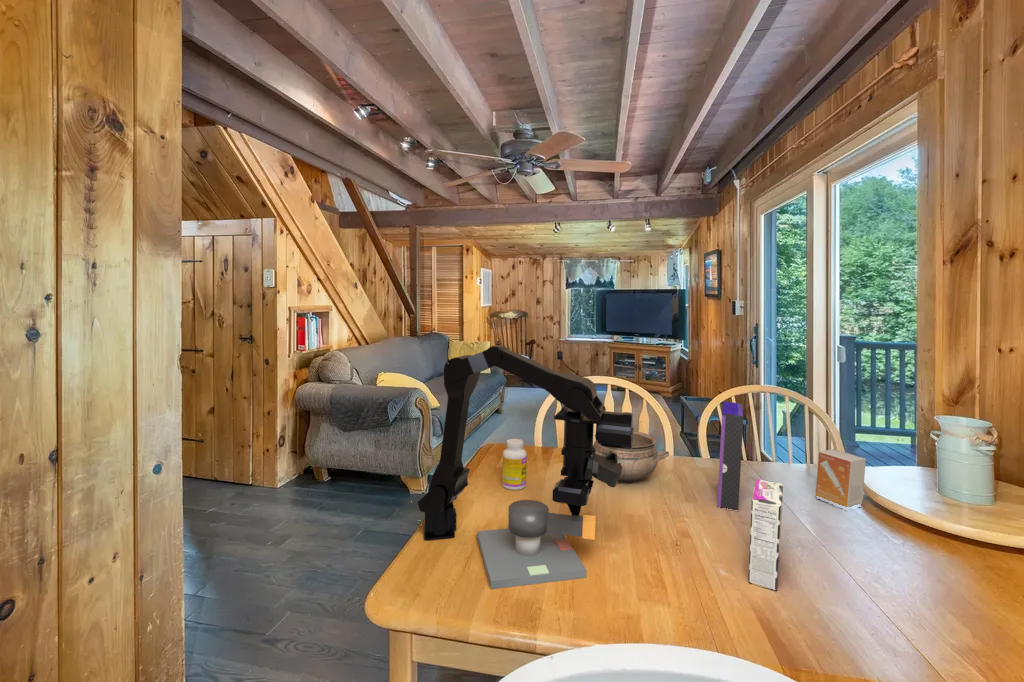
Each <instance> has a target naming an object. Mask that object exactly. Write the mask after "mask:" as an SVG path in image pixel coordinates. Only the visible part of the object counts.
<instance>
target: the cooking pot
mask: <svg viewBox="0 0 1024 682" xmlns="http://www.w3.org/2000/svg"><path fill="white" fill-rule="evenodd" d="M594 438H595V441H594V442H593V445H594V447H595V448H596V454H598V455H600V456H602V455H604V456H605V455H606V454H608V453H609V452H613V453H615V454H617V459H618V464H619V463H621V466H622V473H621V475H620V477H619V480H618V482H619V483H626V484H628V483H633V482H635V481H638V480H640V479H643V478H645V477H648V476H649V475H651V474H652V473H653V472H654V470H656V468H657V465H658V462H659V461H661V460H663V459H666V458H668V457H669V456H670V452H669V451H657V448H656V445H655V444H656V442H657V439H656V438H655V437H654V436H653V435H650V434H648V433H645V432H642V431H637V430H633V443H632V450H628V449H620V448H612V447H604V446H601V443H598V440H596V433H594Z"/></svg>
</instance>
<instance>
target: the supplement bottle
mask: <svg viewBox="0 0 1024 682" xmlns="http://www.w3.org/2000/svg"><path fill="white" fill-rule="evenodd" d="M506 447H507V448H505V449H504V450H503V451H502V487H503V488H505V489H506V490H510V491H518V490H523V489H524V488H525V487H526V486H527V457H528V456H527V451H526V450H525V449H524V440H522V439H520V438H510V439H507V440H506Z"/></svg>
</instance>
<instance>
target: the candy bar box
mask: <svg viewBox="0 0 1024 682" xmlns="http://www.w3.org/2000/svg"><path fill="white" fill-rule="evenodd" d="M783 492H784V484H783V483H781V482H776V481H771V480H765V479H761V478H758V479H757V478H756V479H755V484H754V488H753V492H752V497H751V512H750V534H749V535H750V536H749V555H748V556H749V557H748V578H747V579H748V580H747V583H749V582H751V583H755V584H758V585H760V586H764V587H767V588H770V589H773V590H772V591H774V590H777V591H778V586H779V585H778V584H779V573H780V571H779V570H780V558H781V555H780V553H781V538H782V537H781V536H782V517H783V516H782V515H783V499H784V498H783V496H784V493H783ZM760 586H759V587H760ZM767 588H766V589H767ZM770 589H769V590H770Z"/></svg>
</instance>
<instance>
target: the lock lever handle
mask: <svg viewBox="0 0 1024 682" xmlns="http://www.w3.org/2000/svg"><path fill="white" fill-rule="evenodd" d="M549 509H550V508H549V506H548V505H547V504H546V503H544V502H542V501H539V500H534V499H521V500H517V501H514V502H512V503H510V504H509V505H508V514H507V515H508V519H507V522H508V525H507V526H508V527H507V528H508V529H509V531H510V532H511V533H512V534H514V535H516V536H519V537H524V538H535V537H540V536H542V535H544V534H546V533H553V534H562V535H564V536H573V537H582V539H584V540H593V541H595V540H596V518H597V517H596V515H591V514H583V515H579V516H577V515H572V514H566V513H559V512H558V513H556V512H549Z"/></svg>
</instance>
